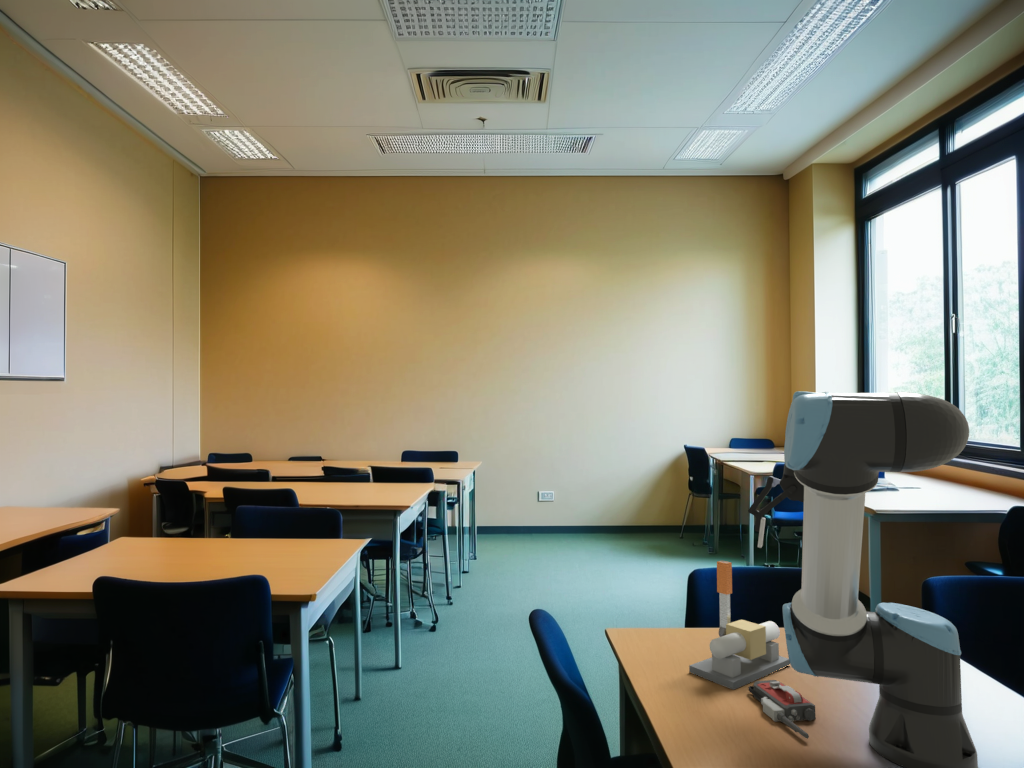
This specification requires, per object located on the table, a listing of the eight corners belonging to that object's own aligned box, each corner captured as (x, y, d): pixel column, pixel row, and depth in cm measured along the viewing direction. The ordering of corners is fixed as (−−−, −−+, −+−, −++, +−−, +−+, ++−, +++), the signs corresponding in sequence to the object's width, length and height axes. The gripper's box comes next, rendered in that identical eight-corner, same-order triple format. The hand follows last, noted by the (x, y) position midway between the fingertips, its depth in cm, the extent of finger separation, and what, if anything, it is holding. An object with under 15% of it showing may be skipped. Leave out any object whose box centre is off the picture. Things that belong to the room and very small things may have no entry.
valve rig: (746, 651, 148) (745, 609, 149) (790, 665, 139) (789, 621, 140) (689, 672, 135) (688, 626, 136) (733, 689, 126) (732, 640, 127)
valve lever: (724, 635, 143) (722, 560, 144) (733, 639, 140) (732, 562, 142) (716, 638, 141) (715, 561, 142) (726, 641, 139) (725, 563, 140)
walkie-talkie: (738, 695, 125) (802, 745, 105) (738, 673, 125) (801, 719, 105) (777, 692, 126) (847, 741, 107) (777, 670, 127) (846, 715, 107)
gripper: (866, 468, 135) (854, 563, 135) (747, 450, 147) (736, 538, 147) (867, 470, 128) (855, 570, 128) (742, 452, 140) (731, 543, 140)
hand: (792, 553), depth 138 cm, fingers open, 13 cm apart
